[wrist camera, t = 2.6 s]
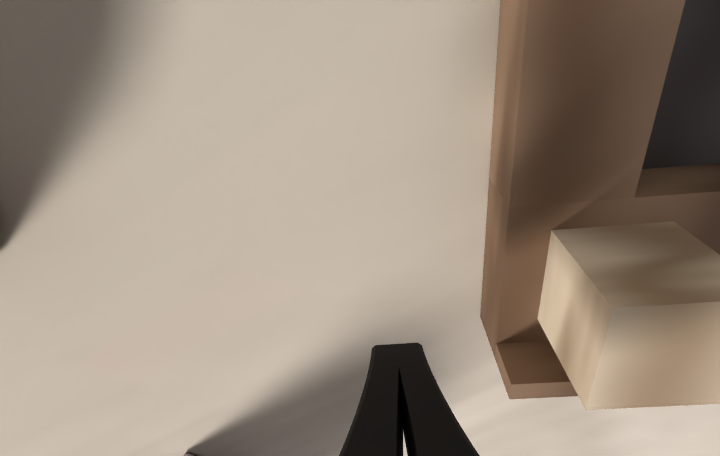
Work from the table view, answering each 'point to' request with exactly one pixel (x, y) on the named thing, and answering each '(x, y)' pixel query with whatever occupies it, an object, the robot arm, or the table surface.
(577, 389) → the maple block
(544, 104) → the trap deck
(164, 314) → the table surface
